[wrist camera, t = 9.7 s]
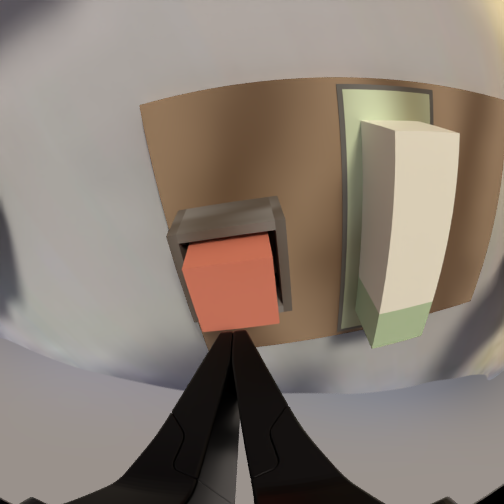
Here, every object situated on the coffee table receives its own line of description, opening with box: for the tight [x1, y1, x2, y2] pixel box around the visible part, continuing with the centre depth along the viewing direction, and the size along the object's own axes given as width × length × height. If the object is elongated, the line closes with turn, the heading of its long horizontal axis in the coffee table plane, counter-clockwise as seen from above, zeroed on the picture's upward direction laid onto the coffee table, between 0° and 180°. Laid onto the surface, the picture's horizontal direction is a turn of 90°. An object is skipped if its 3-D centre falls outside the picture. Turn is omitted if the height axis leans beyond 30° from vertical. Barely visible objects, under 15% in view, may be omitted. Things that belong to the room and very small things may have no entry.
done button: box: [182, 231, 280, 332], centre depth 12 cm, size 3×3×2 cm
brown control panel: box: [140, 77, 504, 350], centre depth 13 cm, size 20×15×3 cm
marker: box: [355, 120, 460, 349], centre depth 13 cm, size 11×3×3 cm, turn 8°
